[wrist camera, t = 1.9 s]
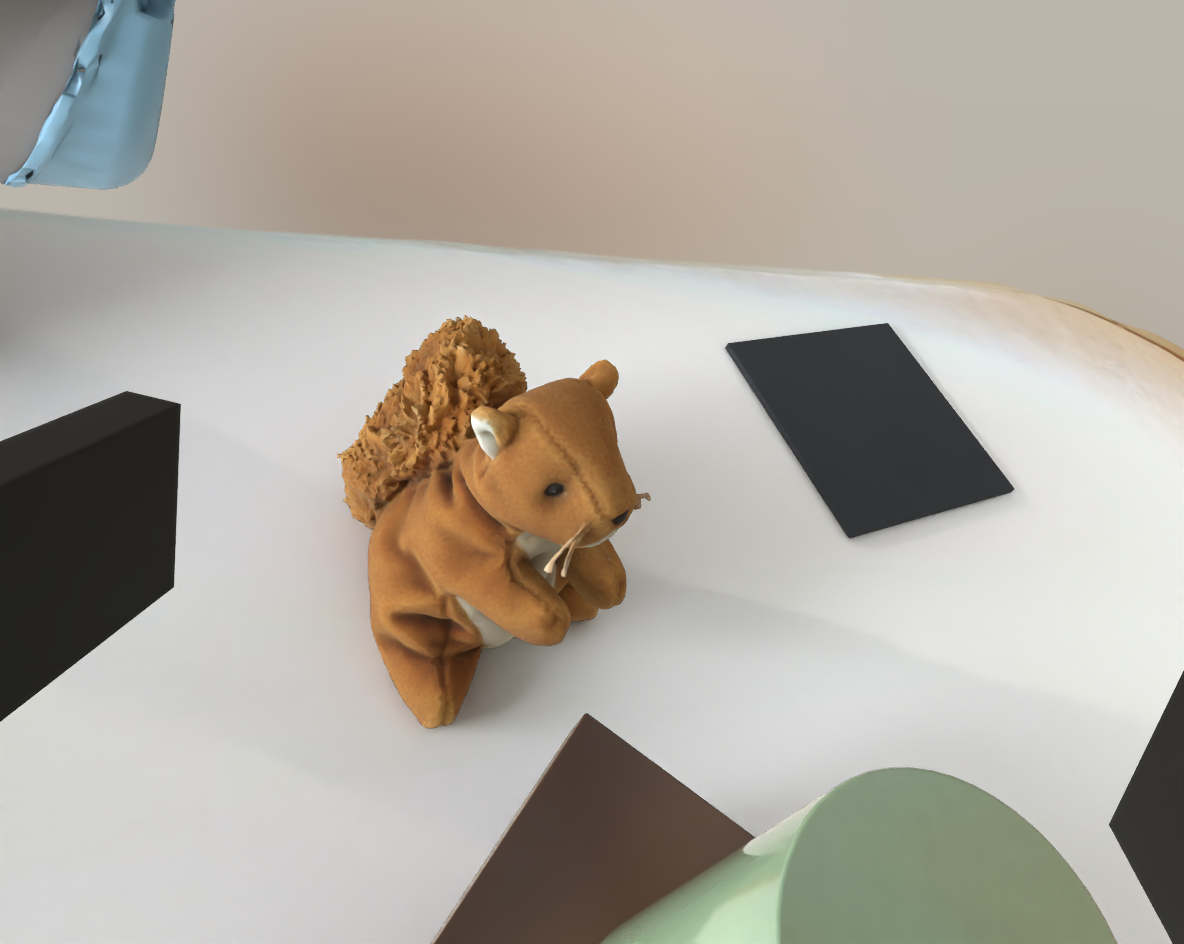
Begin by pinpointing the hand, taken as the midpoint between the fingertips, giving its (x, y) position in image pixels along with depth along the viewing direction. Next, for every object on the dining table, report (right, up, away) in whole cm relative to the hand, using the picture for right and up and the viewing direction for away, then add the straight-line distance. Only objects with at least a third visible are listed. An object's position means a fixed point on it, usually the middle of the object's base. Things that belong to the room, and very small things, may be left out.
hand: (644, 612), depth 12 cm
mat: (+16, +5, +45) cm, 48 cm away
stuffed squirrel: (-7, -2, +29) cm, 30 cm away
